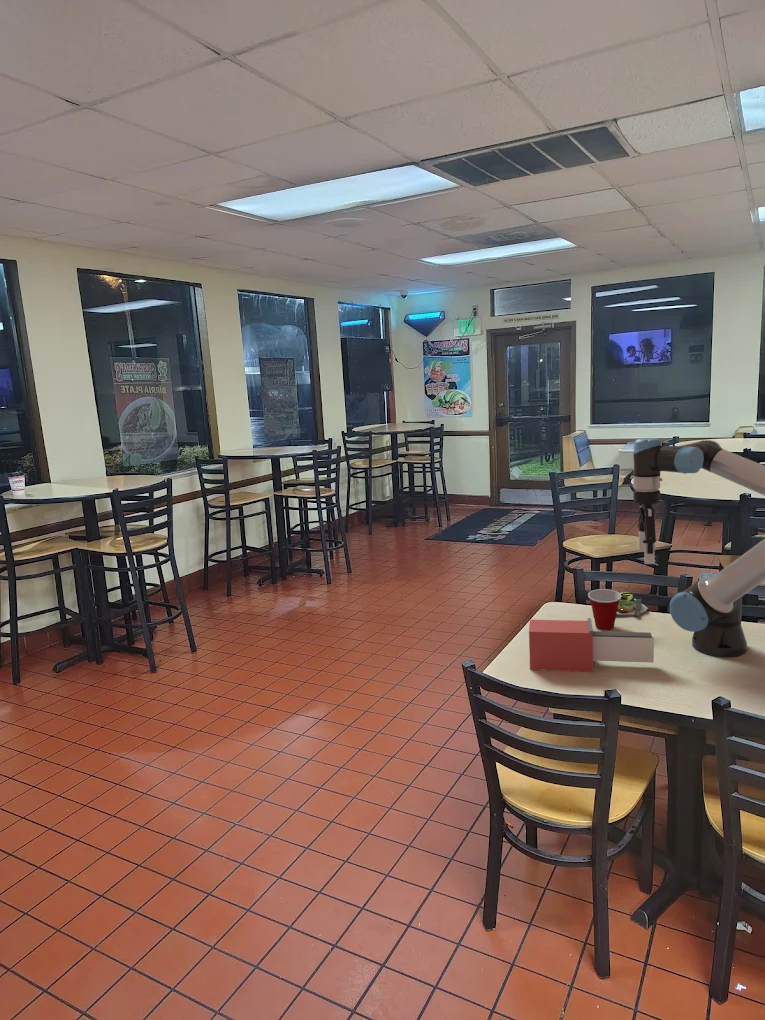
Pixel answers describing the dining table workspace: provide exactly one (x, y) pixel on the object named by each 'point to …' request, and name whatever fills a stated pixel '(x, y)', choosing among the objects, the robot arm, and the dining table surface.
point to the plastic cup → (604, 607)
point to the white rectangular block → (623, 646)
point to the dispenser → (561, 645)
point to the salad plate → (630, 606)
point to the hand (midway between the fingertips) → (646, 557)
